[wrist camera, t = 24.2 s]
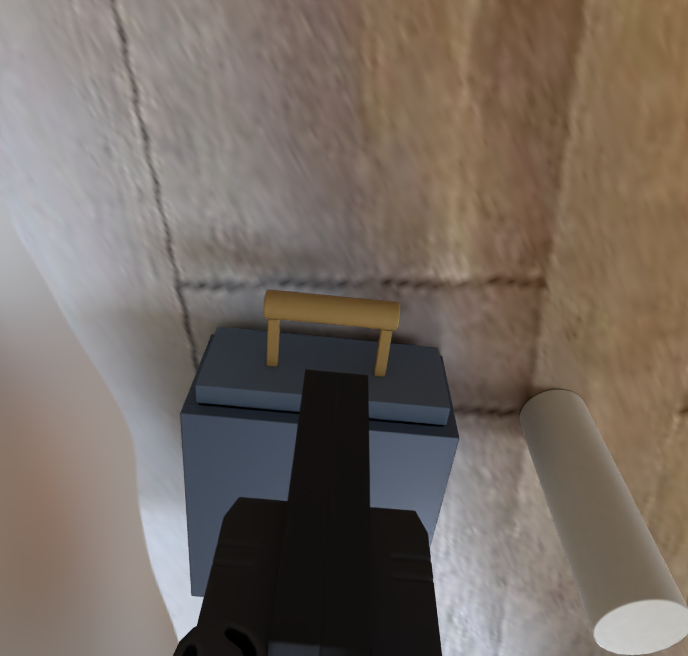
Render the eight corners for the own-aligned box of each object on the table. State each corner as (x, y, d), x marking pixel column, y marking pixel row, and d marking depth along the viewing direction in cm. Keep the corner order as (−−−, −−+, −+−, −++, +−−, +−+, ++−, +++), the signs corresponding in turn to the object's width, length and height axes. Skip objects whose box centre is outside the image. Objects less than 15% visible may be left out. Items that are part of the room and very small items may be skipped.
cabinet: (211, 333, 37) (179, 413, 31) (442, 355, 38) (459, 438, 31) (215, 505, 45) (191, 596, 39) (404, 521, 46) (412, 613, 39)
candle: (538, 381, 39) (626, 591, 26) (598, 398, 39) (713, 611, 26) (507, 430, 41) (575, 645, 28) (565, 445, 41) (657, 662, 29)
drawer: (216, 257, 33) (191, 309, 28) (452, 280, 34) (468, 336, 29) (220, 494, 43) (202, 562, 38) (402, 509, 44) (407, 579, 39)
